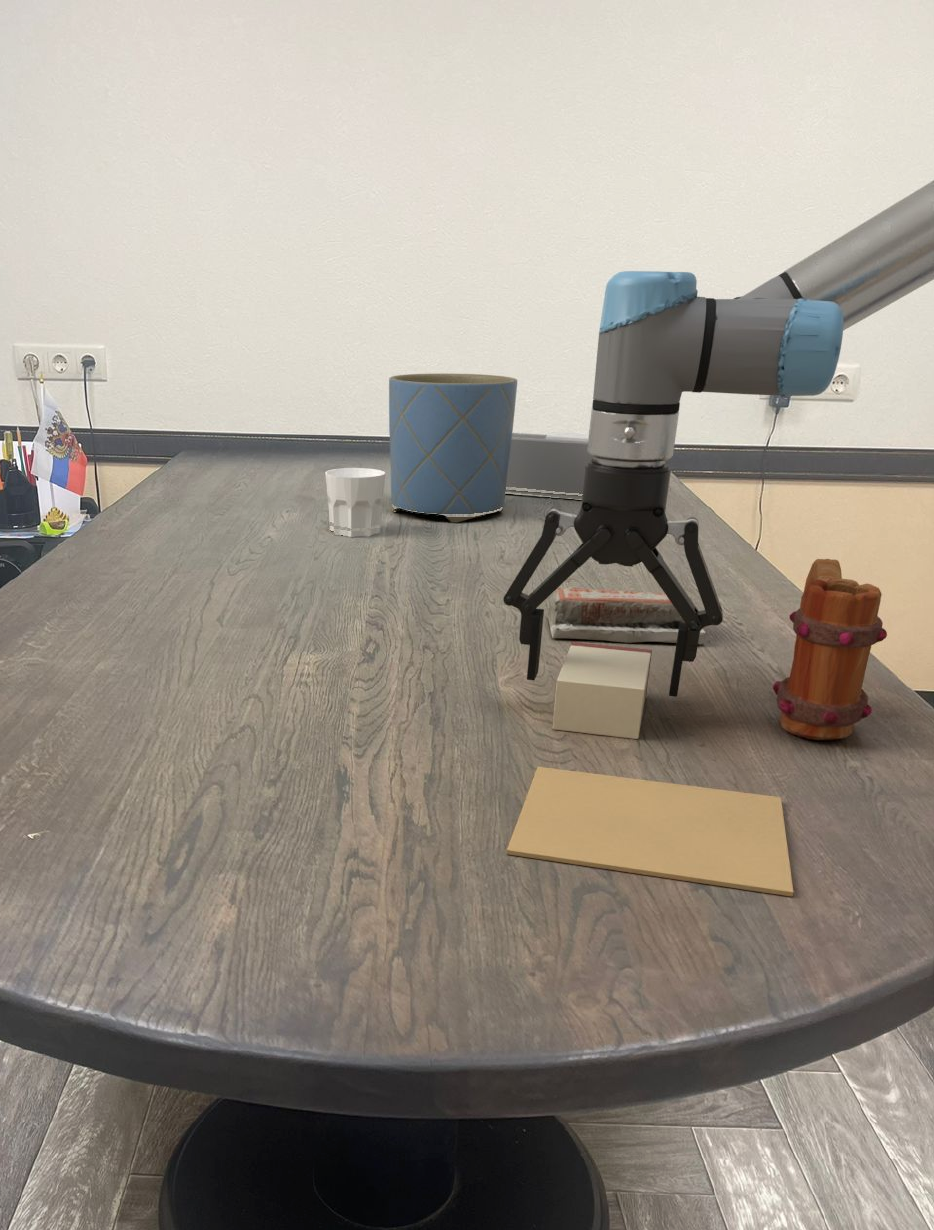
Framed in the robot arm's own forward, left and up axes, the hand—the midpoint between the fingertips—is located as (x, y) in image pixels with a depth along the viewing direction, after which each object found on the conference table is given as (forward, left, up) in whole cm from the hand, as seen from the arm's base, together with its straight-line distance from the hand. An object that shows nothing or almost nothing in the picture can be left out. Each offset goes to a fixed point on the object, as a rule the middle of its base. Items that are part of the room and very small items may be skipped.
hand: (601, 684), depth 106 cm
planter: (+37, -97, -3) cm, 104 cm away
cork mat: (-6, +24, -3) cm, 25 cm away
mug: (-20, -4, -3) cm, 20 cm away
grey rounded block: (+24, -122, -3) cm, 124 cm away
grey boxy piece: (0, -29, -3) cm, 29 cm away
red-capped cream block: (0, 0, -3) cm, 3 cm away
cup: (+48, -74, -3) cm, 88 cm away
